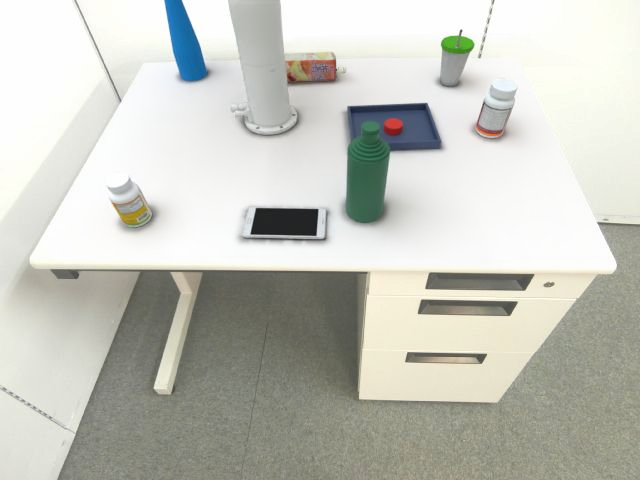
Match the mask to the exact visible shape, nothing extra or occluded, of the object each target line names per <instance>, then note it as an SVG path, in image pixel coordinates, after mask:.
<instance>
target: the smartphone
mask: <svg viewBox="0 0 640 480" xmlns="http://www.w3.org/2000/svg"><path fill="white" fill-rule="evenodd" d="M326 226H327V209H326V208H325V207H276V206H275V207H273V206H272V207H270V206H269V207H267V206H264V207H263V206H250V207H249V208H247V213H246V216H245V220H244V226H243V231H242V235H241V236H242V237H243V238H245V239H246V238H248V239H249V238H250V239H253V238H254V239H290V240H291V239H293V240H295V239H296V240H323V239H325V237H326V228H327V227H326Z"/></svg>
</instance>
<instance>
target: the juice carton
mask: <svg viewBox="0 0 640 480" xmlns="http://www.w3.org/2000/svg"><path fill="white" fill-rule="evenodd" d="M284 53H285V63H286V73H287V83H291V82H318V81H322V82H323V81H330V82H331V81H335V80H336V79H337V59H336V54H335V52H333V51H318V52H284Z"/></svg>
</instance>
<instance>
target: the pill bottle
mask: <svg viewBox="0 0 640 480" xmlns="http://www.w3.org/2000/svg"><path fill="white" fill-rule="evenodd" d="M518 88H519V87H518V83H516V82H515V81H513V80H511V79H508V78H496V79H494V80H493V81H492V82H491V84H490V88H489V91H488V92H487V93H486V94H485V96H484V98H483V102H482V105H481V107H480V111H479V115H478V118H477V121H476V124H475V132H476V133H477V134H478V135H480V136H481V137H483V138H486V139H496V138H499V137H502V135H503V134H504V132H505V129H506V127H507V125H508V121H509V119H510V117H511V114H512V110H513V108H514V106H515V103H516V98H515V96H516V93H517V90H518Z"/></svg>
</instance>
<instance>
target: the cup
mask: <svg viewBox="0 0 640 480" xmlns="http://www.w3.org/2000/svg"><path fill="white" fill-rule="evenodd" d="M462 34H463V29H459V32H458V35H449V36H445V37H444V38H442V40H441V42H440V47H441V58H440V59H441V60H440V75H439V83H440V85H442V86H444V87H448V88H453V87H456V86H458V84H459V82H460V79H461V77H462V74H463V72H464V69H465V67H466V65H467V62H468V59H469V57H470V54H471V52H472V51H473V50H474V48H475V46H476V45H475V42H474V40H473V39H471V38H469V37H467V36H462Z"/></svg>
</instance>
